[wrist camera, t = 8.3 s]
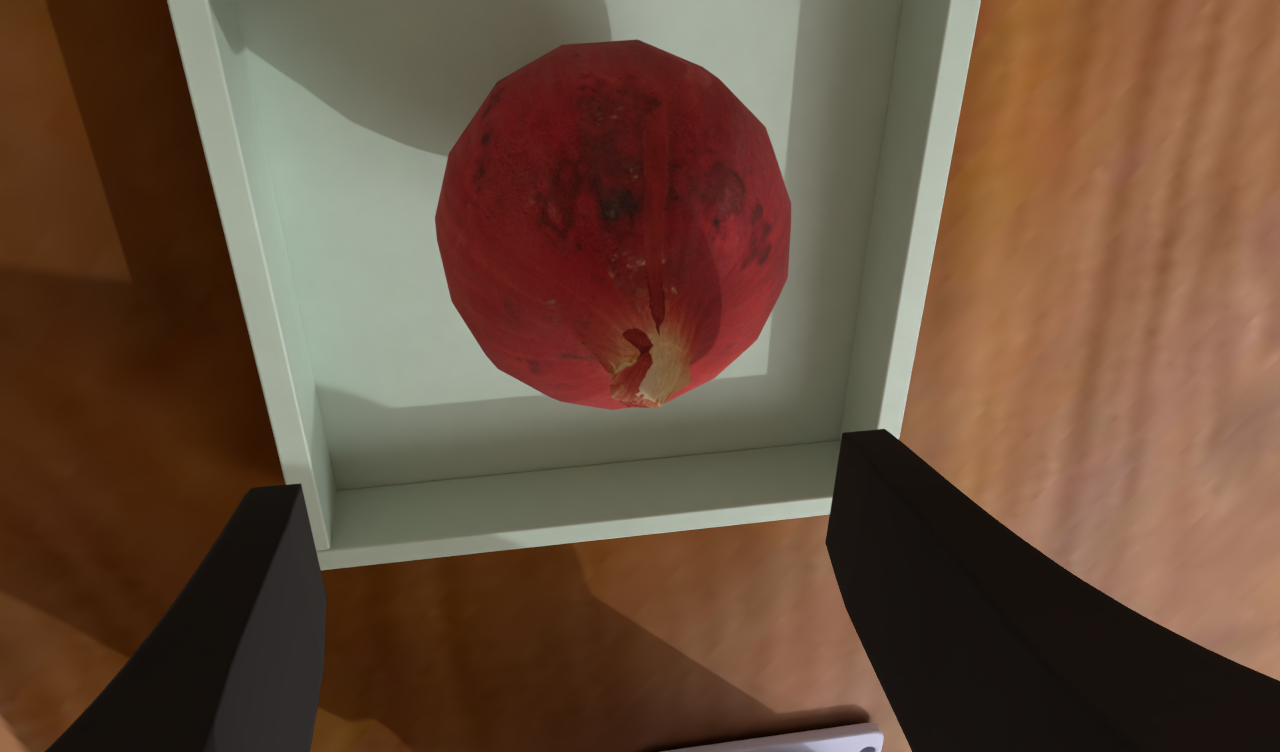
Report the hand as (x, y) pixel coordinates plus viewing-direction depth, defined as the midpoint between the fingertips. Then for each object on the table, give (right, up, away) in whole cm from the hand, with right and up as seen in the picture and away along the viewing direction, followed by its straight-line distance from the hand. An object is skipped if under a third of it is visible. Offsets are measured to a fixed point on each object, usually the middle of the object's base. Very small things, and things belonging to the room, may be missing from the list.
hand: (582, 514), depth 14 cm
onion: (0, +7, +6) cm, 9 cm away
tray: (0, +7, +7) cm, 10 cm away
